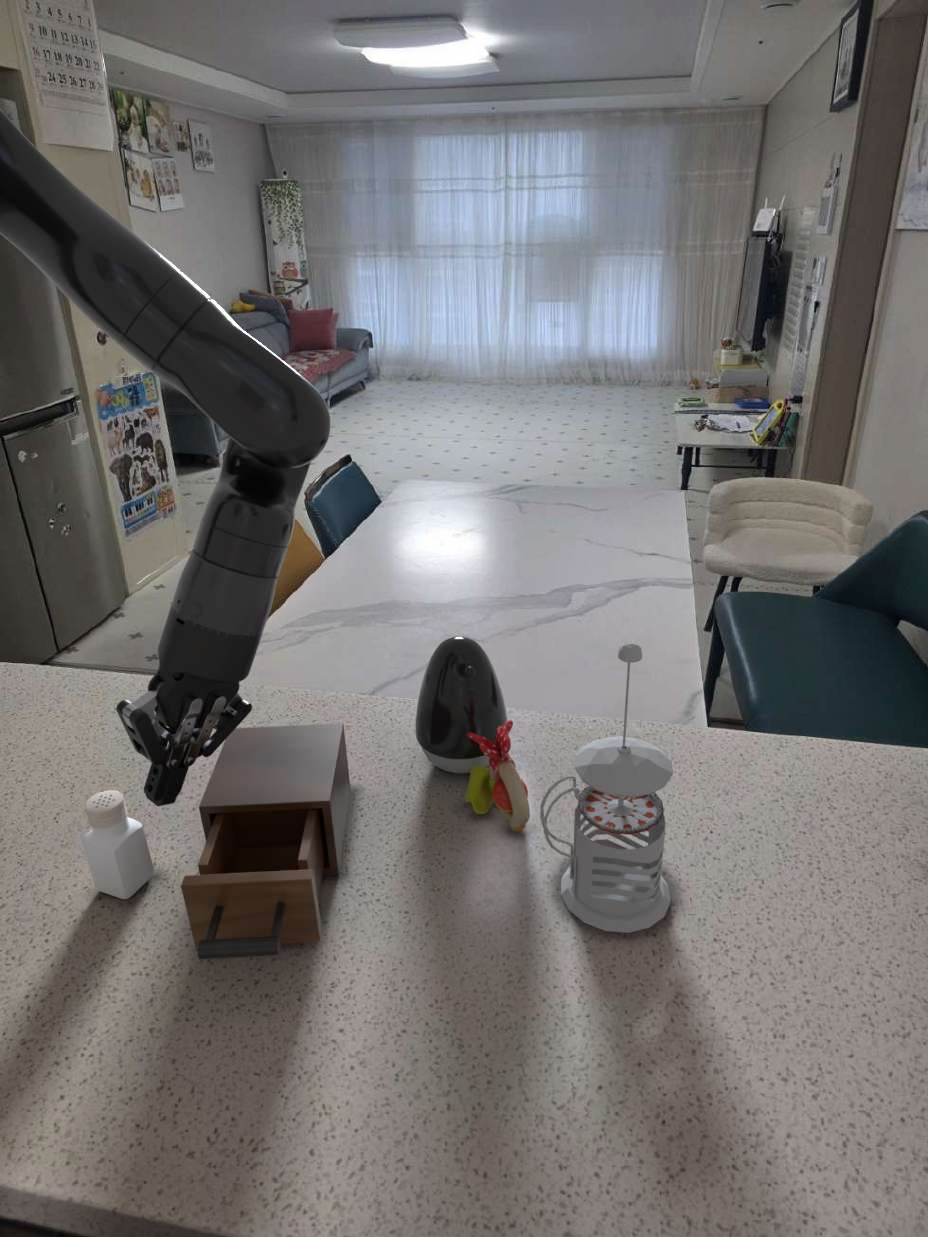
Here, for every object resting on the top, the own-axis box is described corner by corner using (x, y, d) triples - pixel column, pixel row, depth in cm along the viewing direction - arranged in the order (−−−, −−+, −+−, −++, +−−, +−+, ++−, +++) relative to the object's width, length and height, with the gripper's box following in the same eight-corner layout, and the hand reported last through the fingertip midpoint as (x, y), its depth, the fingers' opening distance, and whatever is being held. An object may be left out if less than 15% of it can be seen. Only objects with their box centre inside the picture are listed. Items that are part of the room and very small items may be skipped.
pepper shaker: (125, 863, 79) (103, 783, 75) (158, 874, 78) (137, 792, 73) (93, 892, 76) (69, 809, 72) (127, 904, 74) (104, 820, 70)
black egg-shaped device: (427, 795, 87) (419, 669, 80) (410, 741, 96) (402, 624, 89) (520, 779, 89) (520, 655, 82) (494, 727, 98) (492, 612, 91)
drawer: (313, 991, 64) (302, 927, 61) (178, 998, 64) (162, 934, 61) (334, 847, 79) (327, 789, 76) (225, 852, 79) (214, 795, 76)
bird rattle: (544, 835, 84) (504, 763, 89) (570, 777, 76) (525, 702, 81) (490, 855, 82) (452, 780, 87) (511, 798, 73) (468, 719, 79)
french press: (685, 928, 70) (715, 671, 59) (549, 939, 69) (554, 681, 58) (653, 849, 79) (674, 612, 68) (532, 857, 78) (534, 620, 67)
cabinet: (339, 875, 77) (329, 801, 73) (214, 881, 76) (198, 807, 73) (350, 790, 88) (343, 723, 84) (242, 795, 88) (229, 728, 84)
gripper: (247, 599, 75) (191, 769, 78) (122, 592, 63) (62, 791, 66) (305, 633, 71) (244, 809, 74) (184, 631, 60) (118, 839, 63)
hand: (158, 800), depth 70 cm, fingers closed
